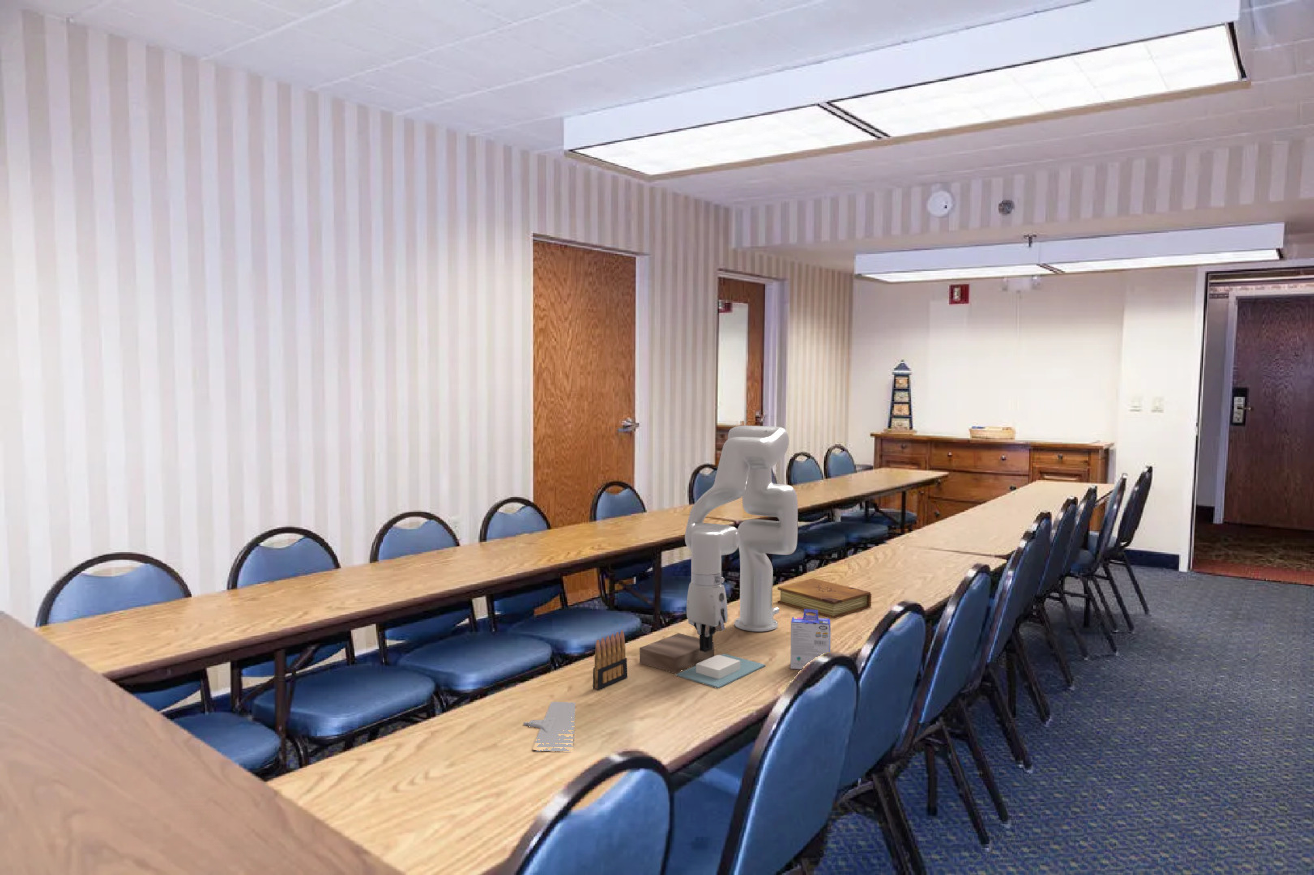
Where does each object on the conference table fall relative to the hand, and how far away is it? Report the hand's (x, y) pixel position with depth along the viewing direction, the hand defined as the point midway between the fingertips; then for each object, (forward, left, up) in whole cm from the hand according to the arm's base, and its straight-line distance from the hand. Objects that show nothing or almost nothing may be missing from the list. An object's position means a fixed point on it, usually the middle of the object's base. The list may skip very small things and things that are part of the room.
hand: (706, 650), depth 212 cm
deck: (0, -9, -5) cm, 11 cm away
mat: (-1, +4, -5) cm, 6 cm away
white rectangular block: (0, +4, -3) cm, 5 cm away
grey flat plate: (+45, 0, -5) cm, 45 cm away
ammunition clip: (+23, -11, -5) cm, 26 cm away
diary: (-71, -6, -5) cm, 72 cm away
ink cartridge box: (-18, +20, -5) cm, 27 cm away
